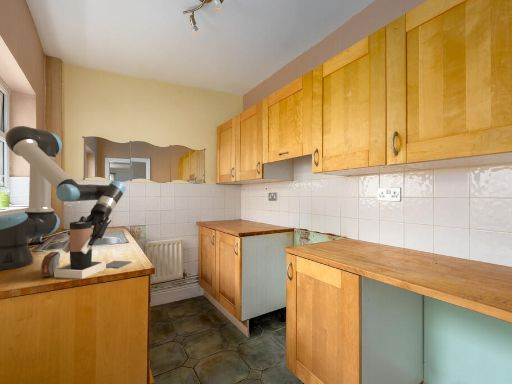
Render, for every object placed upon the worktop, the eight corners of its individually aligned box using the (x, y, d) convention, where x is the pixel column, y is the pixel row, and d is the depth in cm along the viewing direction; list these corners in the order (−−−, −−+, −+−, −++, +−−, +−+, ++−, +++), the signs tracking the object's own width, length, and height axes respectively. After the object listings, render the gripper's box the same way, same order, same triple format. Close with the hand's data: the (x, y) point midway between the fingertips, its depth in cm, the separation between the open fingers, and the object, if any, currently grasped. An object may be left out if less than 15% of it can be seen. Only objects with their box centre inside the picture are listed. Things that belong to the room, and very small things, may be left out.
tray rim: (54, 277, 102) (53, 269, 101) (80, 267, 114) (80, 260, 114) (82, 278, 100) (82, 270, 100) (106, 268, 112) (105, 261, 112)
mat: (100, 267, 114) (100, 266, 114) (114, 261, 123) (114, 260, 123) (118, 268, 112) (118, 267, 112) (131, 262, 121) (131, 261, 121)
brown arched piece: (52, 269, 112) (52, 249, 112) (61, 268, 113) (61, 249, 113) (40, 280, 98) (39, 258, 98) (50, 279, 100) (49, 257, 100)
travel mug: (73, 274, 101) (73, 224, 101) (67, 270, 106) (66, 222, 106) (95, 269, 108) (94, 222, 107) (87, 266, 112) (87, 220, 112)
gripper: (127, 213, 120) (101, 257, 104) (88, 213, 123) (57, 255, 108) (119, 203, 115) (91, 247, 99) (79, 202, 118) (45, 245, 102)
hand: (73, 251), depth 103 cm, fingers closed on travel mug, 7 cm apart
